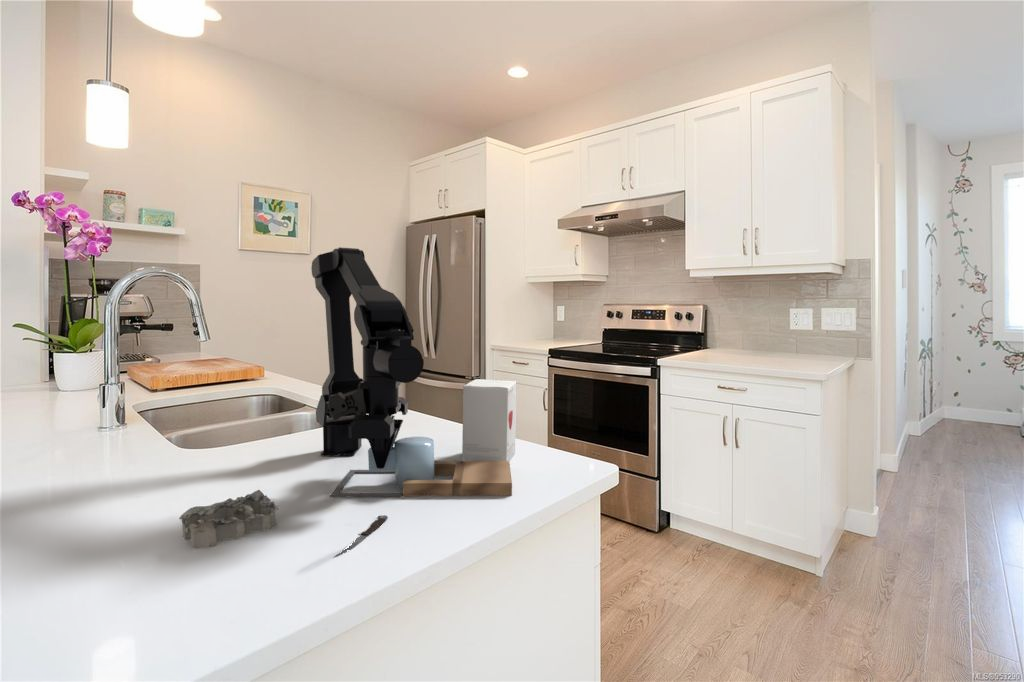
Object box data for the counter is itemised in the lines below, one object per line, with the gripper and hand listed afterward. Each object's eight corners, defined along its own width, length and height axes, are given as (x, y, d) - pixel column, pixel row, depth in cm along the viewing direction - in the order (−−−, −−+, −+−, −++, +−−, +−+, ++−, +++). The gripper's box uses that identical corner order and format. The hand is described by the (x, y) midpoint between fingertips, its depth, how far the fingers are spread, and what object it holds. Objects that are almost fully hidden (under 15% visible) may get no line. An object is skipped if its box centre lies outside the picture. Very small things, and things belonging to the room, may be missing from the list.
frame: (329, 497, 81) (329, 495, 80) (350, 471, 92) (350, 469, 92) (400, 496, 81) (400, 494, 81) (412, 471, 93) (412, 469, 93)
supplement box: (507, 466, 96) (508, 387, 95) (461, 463, 98) (461, 385, 97) (516, 452, 105) (517, 380, 104) (474, 449, 107) (474, 378, 106)
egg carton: (192, 556, 63) (190, 523, 62) (177, 535, 68) (176, 505, 68) (282, 528, 70) (281, 499, 70) (262, 511, 75) (261, 484, 75)
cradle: (402, 495, 82) (402, 483, 81) (413, 472, 92) (413, 461, 92) (511, 495, 82) (512, 482, 82) (509, 472, 93) (509, 461, 93)
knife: (371, 512, 74) (390, 514, 73) (372, 517, 74) (390, 519, 73) (292, 574, 58) (315, 578, 57) (292, 580, 58) (315, 584, 57)
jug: (436, 475, 91) (435, 436, 90) (432, 488, 84) (431, 446, 84) (374, 477, 90) (373, 437, 89) (366, 491, 84) (364, 448, 83)
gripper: (346, 366, 94) (347, 450, 96) (312, 383, 76) (314, 487, 77) (408, 366, 95) (408, 449, 96) (389, 384, 76) (390, 486, 78)
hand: (381, 466), depth 87 cm, fingers closed on jug
